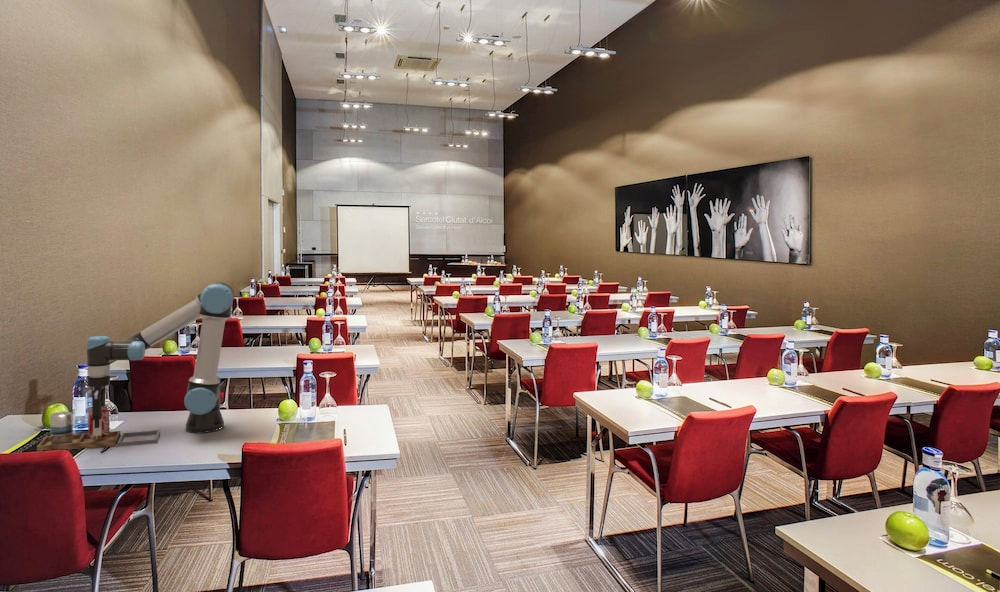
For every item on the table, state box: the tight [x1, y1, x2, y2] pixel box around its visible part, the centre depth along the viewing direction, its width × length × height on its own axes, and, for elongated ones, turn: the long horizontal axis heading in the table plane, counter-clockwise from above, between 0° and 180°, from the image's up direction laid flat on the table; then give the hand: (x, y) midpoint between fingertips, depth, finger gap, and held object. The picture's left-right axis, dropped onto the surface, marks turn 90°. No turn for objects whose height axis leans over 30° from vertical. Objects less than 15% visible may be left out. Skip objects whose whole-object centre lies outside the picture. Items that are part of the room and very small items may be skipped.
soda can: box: [87, 405, 110, 440], centre depth 244 cm, size 7×7×12 cm
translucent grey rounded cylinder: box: [49, 411, 74, 445], centre depth 239 cm, size 7×7×12 cm
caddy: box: [36, 430, 122, 452], centre depth 242 cm, size 25×13×2 cm, turn 115°
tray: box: [116, 429, 161, 447], centre depth 250 cm, size 14×14×2 cm
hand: (99, 432), depth 244 cm, fingers closed on soda can, 7 cm apart
